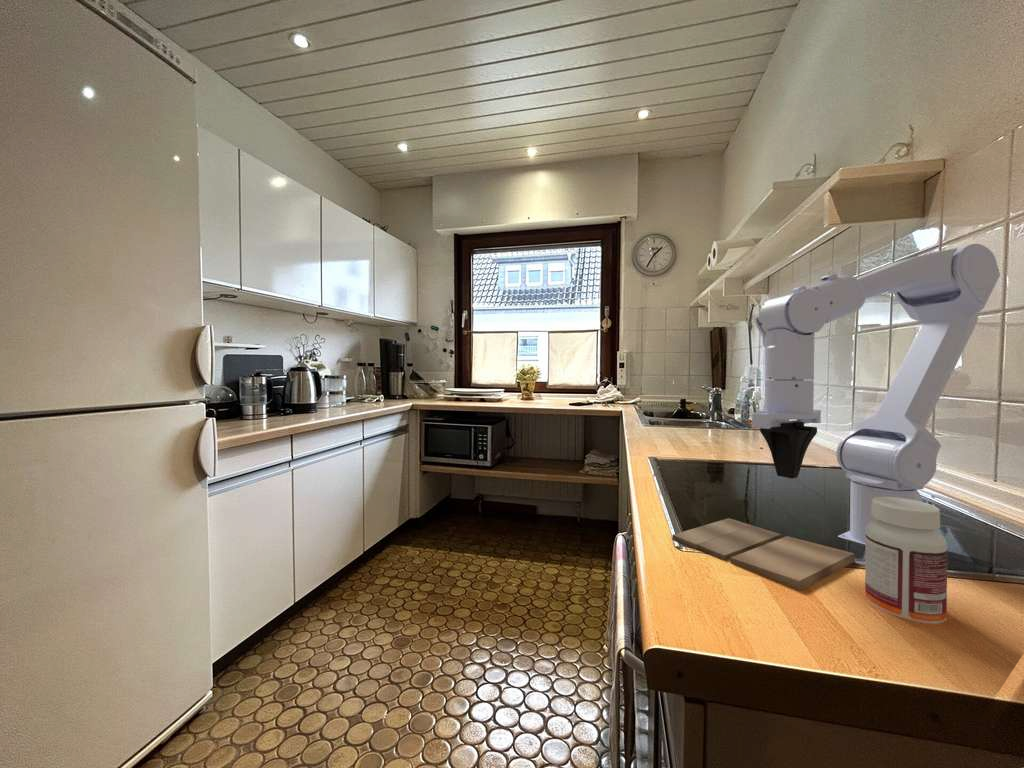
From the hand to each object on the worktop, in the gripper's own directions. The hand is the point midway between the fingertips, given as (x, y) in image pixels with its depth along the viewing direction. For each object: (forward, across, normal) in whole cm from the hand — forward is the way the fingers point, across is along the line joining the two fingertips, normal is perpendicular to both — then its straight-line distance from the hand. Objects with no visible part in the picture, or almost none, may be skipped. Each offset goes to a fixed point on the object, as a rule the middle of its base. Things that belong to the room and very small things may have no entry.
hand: (787, 476), depth 57 cm
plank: (+10, +5, +3) cm, 12 cm away
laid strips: (+10, +5, -6) cm, 13 cm away
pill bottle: (+11, +6, +14) cm, 19 cm away
